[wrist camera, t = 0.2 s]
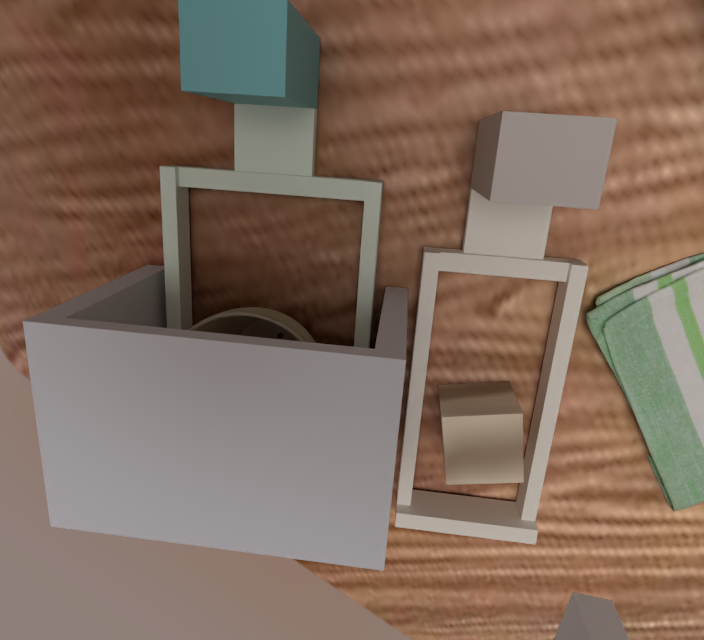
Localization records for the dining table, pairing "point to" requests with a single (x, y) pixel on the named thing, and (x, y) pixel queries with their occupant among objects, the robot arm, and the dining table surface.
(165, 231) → the frame
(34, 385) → the shelf
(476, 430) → the birch block
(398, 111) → the dining table surface
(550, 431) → the open frame with post
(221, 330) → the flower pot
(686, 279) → the dish towel
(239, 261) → the dining table surface
